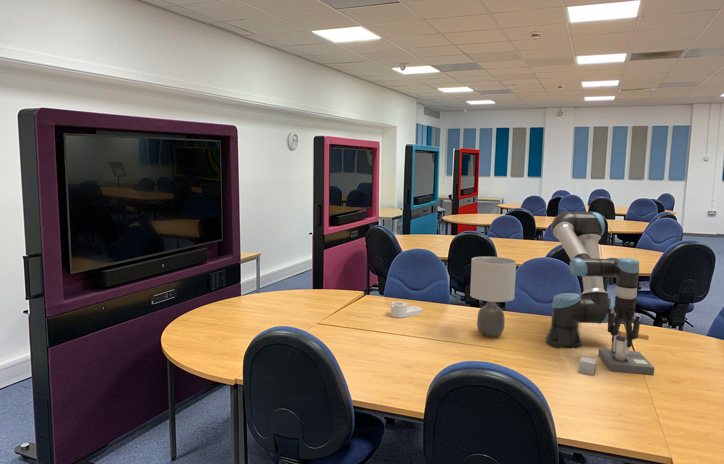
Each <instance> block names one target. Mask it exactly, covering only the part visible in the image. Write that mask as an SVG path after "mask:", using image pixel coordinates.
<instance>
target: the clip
mask: <svg viewBox="0 0 724 464" xmlns="http://www.w3.org/2000/svg"><path fill="white" fill-rule="evenodd" d="M618 333H619V334H617V335H620V336H624V337H627V334H626V331H622V330H621V331H620V330H619V331H618ZM610 335H611V336H612V334H611V333H610ZM649 338H650V336H649V334H641V333H638V338H637V339H638V340H643V341H644V340H645V341H649ZM637 339H636V340H637Z"/></svg>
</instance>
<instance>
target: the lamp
mask: <svg viewBox="0 0 724 464" xmlns="http://www.w3.org/2000/svg"><path fill="white" fill-rule="evenodd" d="M470 266H471V268H470V269H471V270H470V271H471V272H470V286H469V287H470V289H469V290H470V291H469V292H470V293H469V294H470V295H469V296H470V297H471V298H473V299H475V300H479V301H485V302H486V304H485V305H483V306H481V308H480V309H478V313H477V317H476V318H477V320H476V327H477V331H478V332H479V333H480V334H481V335H483V336H486V337H499V336H501V335H502V334H503V332H504V330H505V326H506V325H505V322H506V321H505V318H506V317H505V312H504V310H503V309H502V308H500V307H499V306H498V304H497V303H504V302H511V301H515V296H516V295H515V291H516V276H517V275H516V274H517V273H516V272H517V261H516V260H515V259H513V258H509V257H500V256H475V257H472V258H471V265H470Z"/></svg>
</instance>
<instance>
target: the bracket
mask: <svg viewBox="0 0 724 464" xmlns="http://www.w3.org/2000/svg"><path fill="white" fill-rule="evenodd" d="M422 314H423V308H422V307H421V306H417V305H416V306H415V305H410V306H408V303H407V302H404V301H399V300H398V301H392V302H391V304H390V316H391V317H393V318H396V319H398V318H399V319H401V318H403V319H404V318H407V317H412V316H416V315H422Z"/></svg>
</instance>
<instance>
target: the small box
mask: <svg viewBox="0 0 724 464" xmlns="http://www.w3.org/2000/svg"><path fill="white" fill-rule="evenodd" d="M597 361H598V360H597V359H595V358H589V357H585V356H582V357H581V358H580V360H579V363H578V373H580V374H584V375H590V376H595V373H596V370H597Z"/></svg>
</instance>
